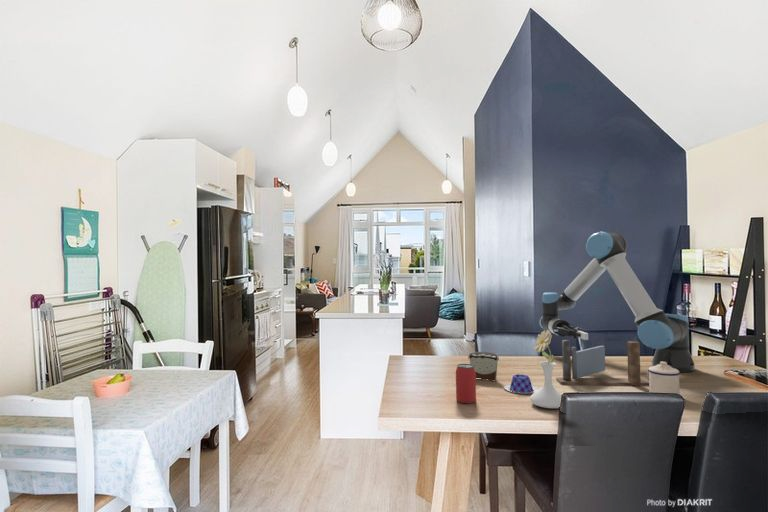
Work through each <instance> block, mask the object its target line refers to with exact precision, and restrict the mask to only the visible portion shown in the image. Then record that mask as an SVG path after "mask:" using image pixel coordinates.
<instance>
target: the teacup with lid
mask: <svg viewBox="0 0 768 512" xmlns="http://www.w3.org/2000/svg"><path fill="white" fill-rule="evenodd" d="M680 374H681V372H679V371H678V370H677V369H675V368H672V367H671V366H669V365H667V363H666V362H660V364H658V365H656V366H652V365H651V366H649V367H648V369H647V372H646V379H647V380H646V381H648V382H649V386H648V389H649V392H662V393H678V394H680ZM680 395H681V394H680Z"/></svg>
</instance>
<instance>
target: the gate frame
mask: <svg viewBox="0 0 768 512" xmlns="http://www.w3.org/2000/svg"><path fill="white" fill-rule="evenodd" d="M561 344H562V345H561V347H562V377H556V379H555V380H556V381H557V382H558V383H559V385H561V384H566V385H567V386H569V385H570V386H571V385H572V386H574V385H576V386H579V385H580V386H581V385H582V386H631V385H635V386H634V387H641V385H649V382H648V380H646V379H645V378H641V356H640V355H641V352H640V351H641V350H640V349H641V348H640V345H641V344H640V342H639V341H633V340H632V341H631V340H630V341H629V340H627V342H626V345H627V347H626V348H627V349H626V350H627V352H626V353H627V377H626V378H625V377H624V378H623V377H621V378H619V377H616V378H615V377H581V378H578V379H572V356H571V340H568V339H562V340H561Z"/></svg>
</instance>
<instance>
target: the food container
mask: <svg viewBox="0 0 768 512" xmlns="http://www.w3.org/2000/svg"><path fill="white" fill-rule="evenodd" d="M467 359H469V364H471V365H473V366H474V369H475V373H476V378H481V379H488V380H487V381H489V380H495V381H494V382H496V381H497V373H498V372H497V371H498V361H500V358H499V355H498V353H495V352H489V351H473V352H469V354H468V356H467Z"/></svg>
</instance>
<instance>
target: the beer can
mask: <svg viewBox="0 0 768 512" xmlns="http://www.w3.org/2000/svg"><path fill="white" fill-rule="evenodd" d="M476 382H477V379H476V373H475V369H474V366H473V365H471V364H470V363H458V364H457V365H456V370H455V397H456V399H455V400H456V401H457V402H458V403H459V404H465V403H466V404H468V405H469V403H470V404H473V403H475V402H476V401H477V386H476V385H477V383H476ZM466 404H465V405H466Z"/></svg>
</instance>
